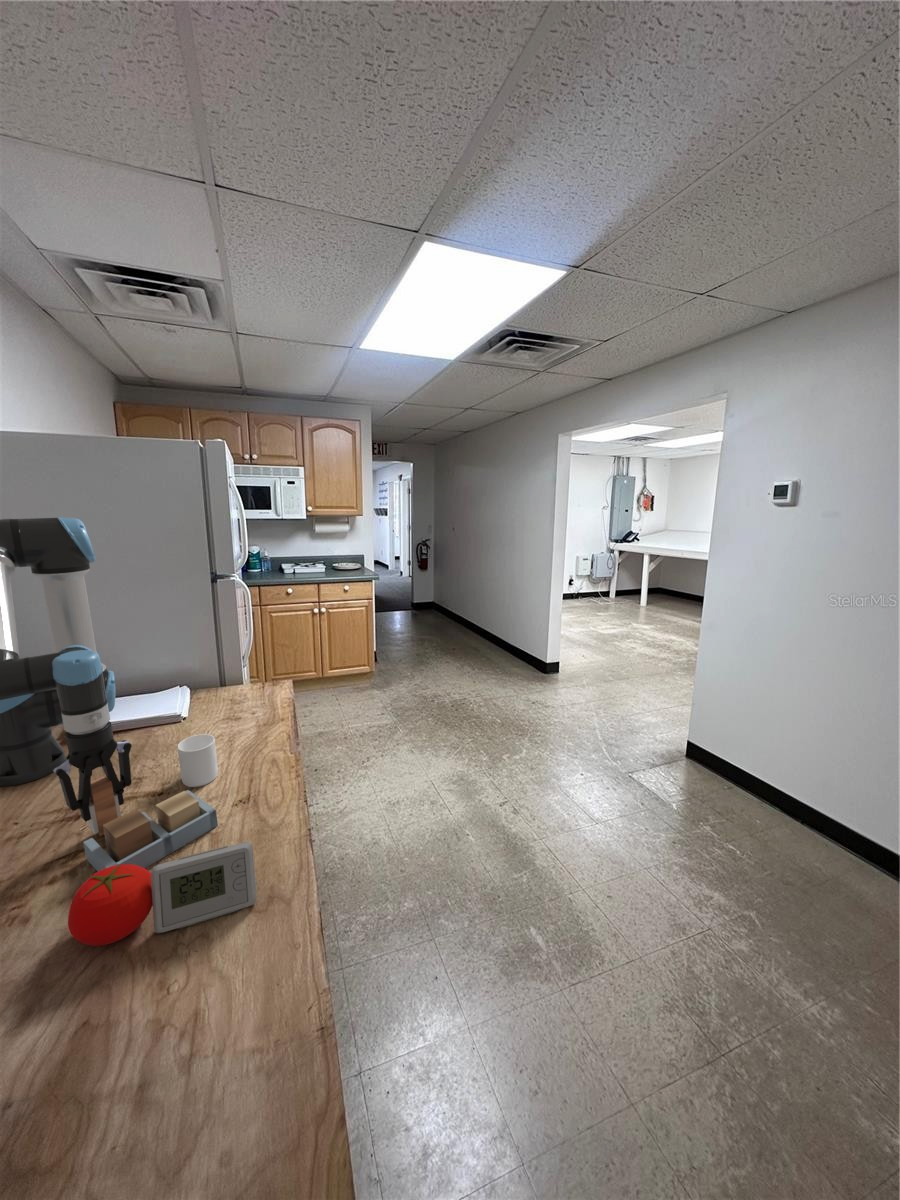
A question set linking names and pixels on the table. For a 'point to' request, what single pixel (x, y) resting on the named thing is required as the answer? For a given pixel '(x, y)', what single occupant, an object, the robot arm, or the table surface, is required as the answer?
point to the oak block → (177, 811)
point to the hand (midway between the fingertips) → (105, 824)
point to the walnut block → (118, 822)
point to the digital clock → (202, 886)
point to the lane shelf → (156, 840)
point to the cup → (198, 760)
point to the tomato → (110, 905)
